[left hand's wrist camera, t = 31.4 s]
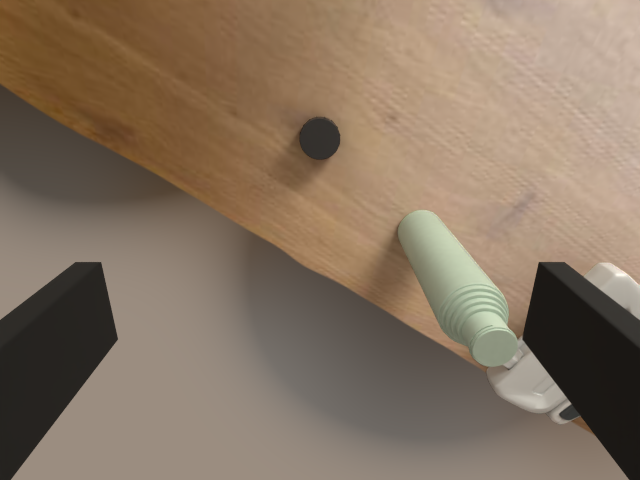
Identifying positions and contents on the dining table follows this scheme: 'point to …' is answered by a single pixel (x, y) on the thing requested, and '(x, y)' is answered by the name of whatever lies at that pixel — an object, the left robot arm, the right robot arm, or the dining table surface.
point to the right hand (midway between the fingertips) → (516, 307)
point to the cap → (319, 138)
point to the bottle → (458, 289)
